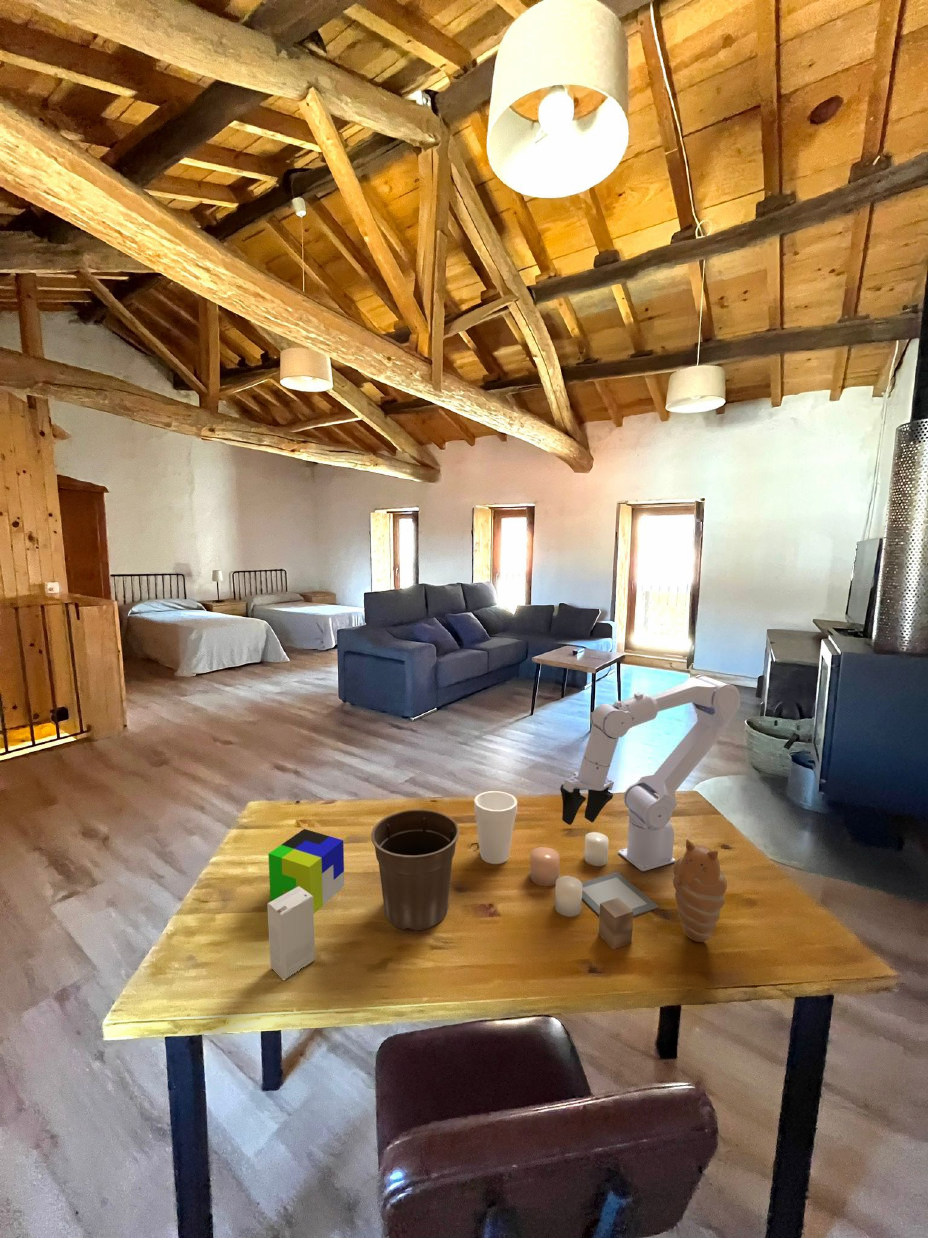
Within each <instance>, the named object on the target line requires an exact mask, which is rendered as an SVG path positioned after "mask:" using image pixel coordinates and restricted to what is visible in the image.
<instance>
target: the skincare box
mask: <svg viewBox="0 0 928 1238" xmlns="http://www.w3.org/2000/svg"><path fill="white" fill-rule="evenodd" d="M266 906H267V909H266V910H267V922H268V923H267V924H268V946H269V962H270V963H269V964H270V969H271V970H272V969H273V970H274V971H275V972H276V973H277V974H278V975H279V976H280V977H281V978H282V979H286V978H288V977H289V976H290V977H292V976H293V975H295V974H296V973H298V972H299V971H300V969H301V968H302V969H304V968H305V967H306V966H308V965H309V964H311V963H312V962H313V961H315V960H316V949H315V948H316V947H315V944H316V943H315V940H316V939H315V920H314V919H315V917H314V915H315V913H313V896H312V895H311V894H309V893H308V892H307V891H305V890H304V889H302V888H301V887H299V886H298V887H296V888H295V889H293V890H291V891H289V892H287V893H286V894H284V895H282V896H280V897H278V898H277V899H275V900H273V901H269V902H267V905H266ZM303 967H304V968H303ZM302 969H301V970H302ZM273 970H272V971H273ZM274 971H273V972H274ZM297 971H298V972H297ZM275 972H274V973H275ZM276 973H275V974H276ZM294 973H295V974H294ZM277 974H276V975H277ZM292 974H293V975H292ZM278 975H277V976H278ZM291 975H292V976H291ZM279 976H278V977H279ZM280 977H279V978H280ZM290 977H289V978H290ZM281 978H280V979H281ZM289 978H288V979H289ZM282 979H281V980H282ZM286 980H287V979H286Z"/></svg>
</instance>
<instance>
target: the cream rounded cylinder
mask: <svg viewBox="0 0 928 1238" xmlns="http://www.w3.org/2000/svg"><path fill="white" fill-rule="evenodd" d="M584 836H585V837H584V852H583V853H584V856H583V858H584V861H585V862H586V863H587V864H589V865H591V866H595V867H601V866H605V865H607V864H608V859H609V858H608V855H609V842H610V841H609V838H608V837H609V836H607V835H606V834H604V833H602V832H596V831H592V832H588V833H586V834H585V835H584Z"/></svg>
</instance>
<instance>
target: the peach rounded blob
mask: <svg viewBox="0 0 928 1238" xmlns="http://www.w3.org/2000/svg"><path fill="white" fill-rule="evenodd" d="M529 863H530V864H529V878H530V880H531V881H532V883H534V884H536V885H538V886H542V887H550V886H552V887H553V886H554V885H555V886H556V880H557V879H558V878H559V877H560V854H559V852H558V851H557V850H556V849H554V848H551V847H546V846H539V847H535V848H533V849H532V850H531V851H530V862H529Z"/></svg>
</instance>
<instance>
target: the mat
mask: <svg viewBox="0 0 928 1238" xmlns="http://www.w3.org/2000/svg"><path fill="white" fill-rule="evenodd" d="M581 883H582V901H584V903H586V905H587V906H589V907H590V909H591V910H592V911H593V912H595V913H596V915H598V917H599V916H600V903H603V902H606V901H609V900H612V899H615V898H619V899H620V900H621V901H622V902H624V903H625V904H626V905H627V906H628V907H629V908H630V909H631V910H632V911H633V918H635V917H637V916H639V915H642V914H645V913H648V912H651V911H654V910H657V909H659V908H660V906H659V905H658V904H656V903H655V902H654V901H653V900H652V899H651V898H650V897H648V896H647V895H646V894H644V892H642V890H639V888H638V887H637V886H635V885H634V884H633V883H631V882H630V881H629V880H628V879H627V878H625V877H624V876H623V875H622V874H621V873H620V872H618V871H615V872H613V873H609V874H606V875H605V874H604V875H602V876H598V877H595V878H592V879H589V880H585V881H582V882H581Z"/></svg>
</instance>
